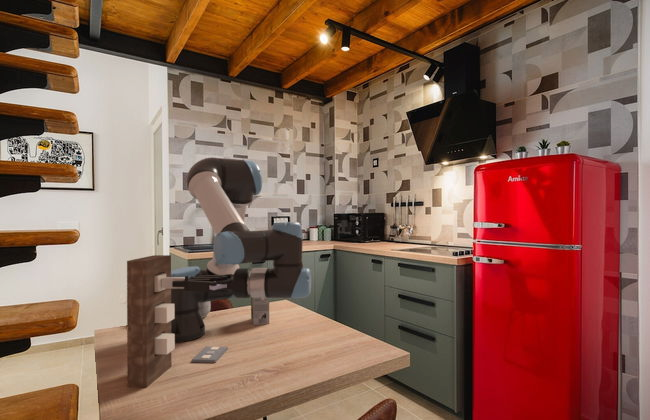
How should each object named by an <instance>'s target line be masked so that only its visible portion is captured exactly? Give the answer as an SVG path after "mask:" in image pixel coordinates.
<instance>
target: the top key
mask: <svg viewBox="0 0 650 420" xmlns="http://www.w3.org/2000/svg"><path fill="white" fill-rule="evenodd" d="M164 277H166V274H155V275H154V292H159V291H162V290H164V289H162V278H164Z"/></svg>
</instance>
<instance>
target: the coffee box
mask: <svg viewBox="0 0 650 420" xmlns="http://www.w3.org/2000/svg"><path fill="white" fill-rule="evenodd" d="M250 319H251V322H252V325H253V326H261V325H269V324H270V298H264V300H261V299H260V298H252V297H251V296H250Z"/></svg>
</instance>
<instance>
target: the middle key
mask: <svg viewBox="0 0 650 420" xmlns="http://www.w3.org/2000/svg"><path fill="white" fill-rule="evenodd" d="M173 319H175V309H174V304H158V305H156V306H154V320H155V323H168V322H170V321H171V320H173Z"/></svg>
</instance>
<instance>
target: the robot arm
mask: <svg viewBox="0 0 650 420" xmlns="http://www.w3.org/2000/svg"><path fill="white" fill-rule="evenodd" d="M186 175H187V176H186V179H185V180H186V181H185V182H186V183H185V184H186V188H187V190H188V192H189V194H190V195H191V197H193V199H195V200H197V202H198V203H199V206H200V207H201V209H202V211H203V213H204V215H205V217H206V218H207V220H208V222H209V224H210V226H211V228H212V230H213V231H214V234H215V236H214V239H213V247H212V248H213V254H212V259H211V260H210V261H208V262H207V265H206V269H201V268H200V267H199V266H197V265H194V266H192V265H191V266H186V267H185V266H184V267H180V268H176V269H173V270H172V269H171V277H164V278H162V289H171V304H174V309H175V319H173V320H171V334H175V343H182V342H188V341H192V340H196V339H199V338H201V337H202V336H204V335H205V334H206V325H205V323H204V322H205V321H204V320H203V319H204V318H202V316H201V313H200V303H202V302H208V301H210V302H214V301H221V300H228V299H232V298H237V299H249V298H251V297H252V298H260V299H261V300H264V298H269V299H271V298H272V299H291V300H294V299H305V298H308V297H309V296H310V294H311V291H312V270H311V269H310V268H308V267H307V268H305V267H304V264H303V240H304V238H303V228H302V227H303V226H302V224H301V223H300V222H299V221H298V222H297V221H294V222H293V221H292V222H291V221H290V222H289V221H284V222H283V221H281V222H280V221H279V222H274V223H273V224H272V228H271V229H265V230H264V229H263V230H250V229H249V228H248V226H247V225H246V223H245V218H246V217H245V216H246V212H247V206H249V205H250V204H252V202H253V198H254V196H255V197H256V196H257V195H260V193H261V192H262V189H263V188H262V187H263V176H262V172H261V170H260V168H259V165H258V164H257V163H256V162H254V161H252V160H246V159H235V158H222V157H221V158H220V157H211V156H210V157H206V158H203V159H201V160H199V161H197V162H196V163H194V164H193V165H192V166H191V167H190V169H188V173H187V174H186ZM269 261H270V262H271V261H273V262H272V266H273V268H271V267H270V268H268V267H253V268H252V269H251V268H245V267H243V268H242V267H240V265H241V264H250V263H259V262H269Z"/></svg>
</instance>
